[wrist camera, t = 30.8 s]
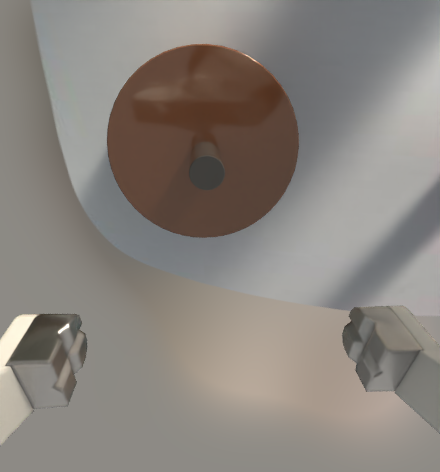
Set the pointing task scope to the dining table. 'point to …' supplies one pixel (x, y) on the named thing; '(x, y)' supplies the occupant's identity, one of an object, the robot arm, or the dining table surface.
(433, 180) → the dining table surface
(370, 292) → the dining table surface
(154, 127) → the lid
